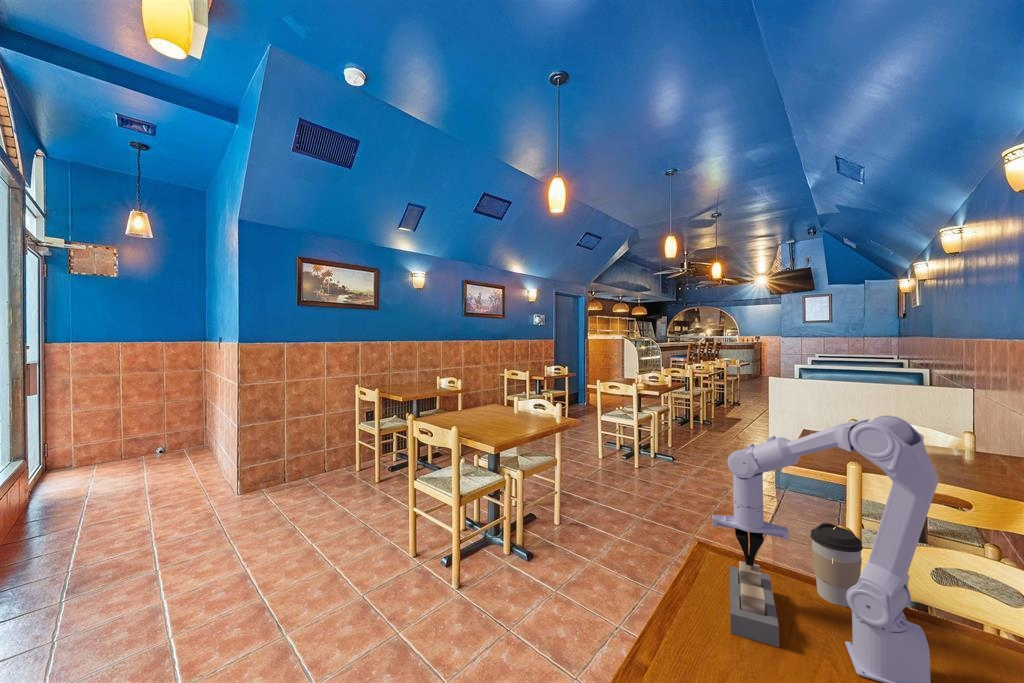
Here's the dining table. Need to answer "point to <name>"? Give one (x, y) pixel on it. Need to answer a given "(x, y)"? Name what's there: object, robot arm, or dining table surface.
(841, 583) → the coffee cup
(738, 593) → the grey peg hole board
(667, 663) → the dining table surface
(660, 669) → the dining table surface
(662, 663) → the dining table surface
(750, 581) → the far peg
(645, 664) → the dining table surface
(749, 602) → the near peg
